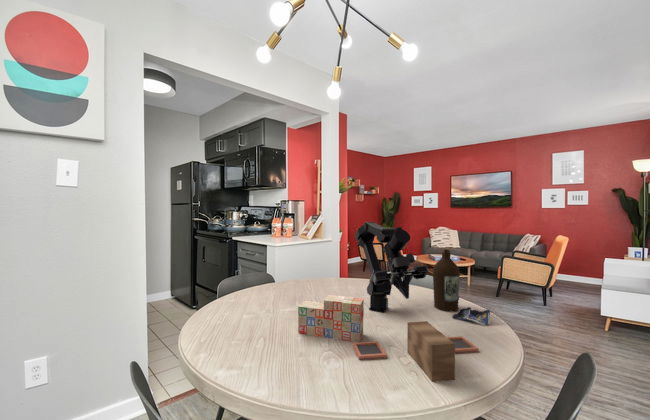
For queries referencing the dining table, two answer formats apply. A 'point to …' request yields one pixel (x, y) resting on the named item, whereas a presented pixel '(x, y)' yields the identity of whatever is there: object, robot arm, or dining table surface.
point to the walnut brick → (431, 351)
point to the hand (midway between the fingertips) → (407, 298)
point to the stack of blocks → (332, 318)
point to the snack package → (473, 315)
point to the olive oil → (446, 283)
